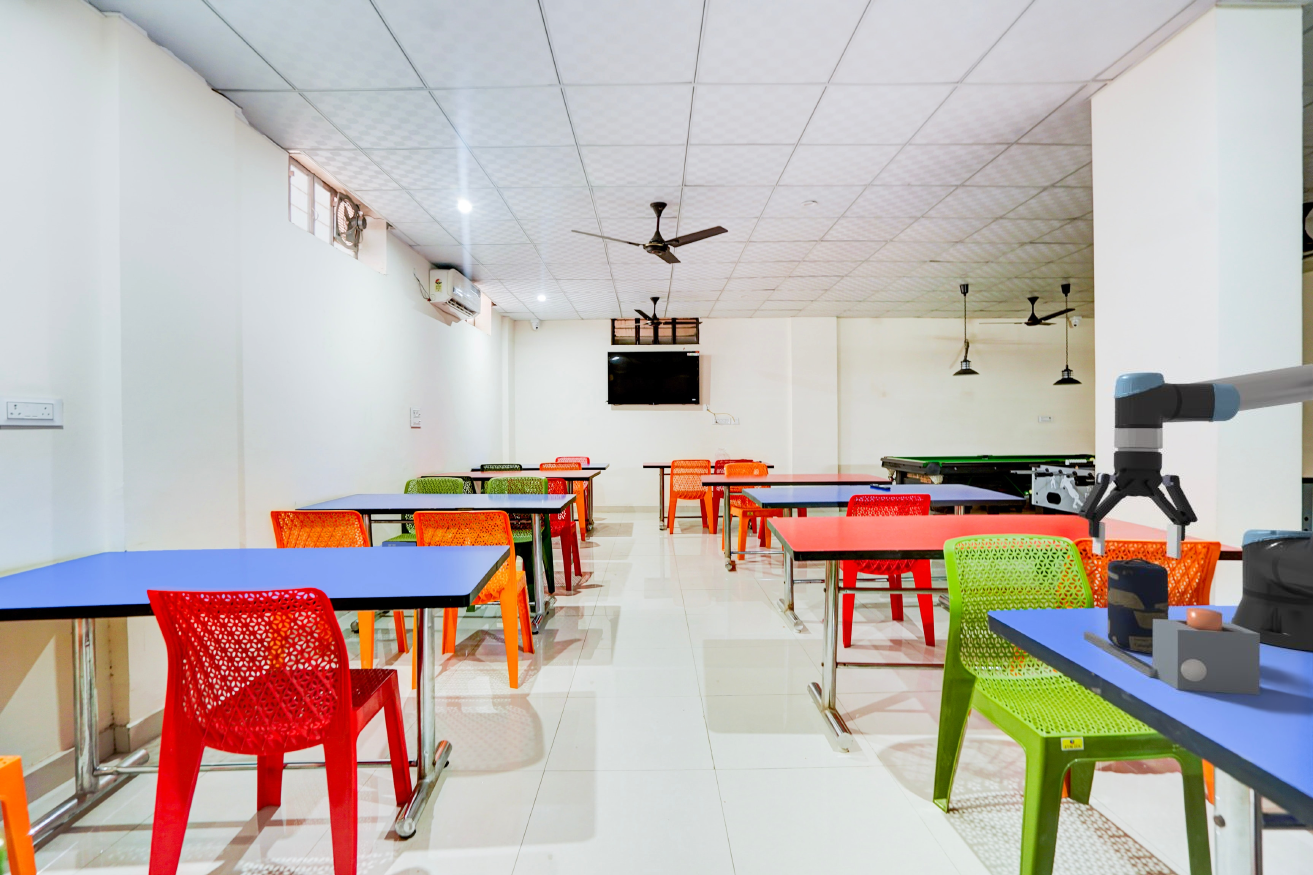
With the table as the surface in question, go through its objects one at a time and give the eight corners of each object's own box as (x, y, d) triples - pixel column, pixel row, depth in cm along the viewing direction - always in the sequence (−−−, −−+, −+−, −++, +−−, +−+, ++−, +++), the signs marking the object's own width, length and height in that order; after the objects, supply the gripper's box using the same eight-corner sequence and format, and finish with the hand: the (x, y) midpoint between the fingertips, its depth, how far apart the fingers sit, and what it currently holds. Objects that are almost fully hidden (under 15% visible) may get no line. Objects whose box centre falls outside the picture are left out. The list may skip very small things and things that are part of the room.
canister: (1180, 658, 112) (1181, 564, 112) (1124, 654, 114) (1124, 561, 114) (1149, 641, 121) (1149, 554, 121) (1097, 638, 123) (1097, 552, 123)
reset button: (1208, 634, 101) (1208, 608, 101) (1229, 642, 97) (1229, 615, 97) (1180, 632, 102) (1180, 607, 102) (1199, 641, 98) (1199, 614, 98)
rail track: (1165, 642, 120) (1165, 635, 120) (1247, 682, 100) (1248, 674, 100) (1084, 638, 122) (1084, 631, 122) (1149, 677, 103) (1149, 668, 103)
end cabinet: (1229, 679, 102) (1229, 622, 102) (1261, 695, 95) (1261, 634, 95) (1152, 675, 103) (1152, 618, 103) (1179, 690, 97) (1179, 630, 97)
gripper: (1193, 451, 119) (1191, 554, 119) (1060, 448, 123) (1058, 549, 123) (1223, 451, 112) (1221, 562, 112) (1080, 449, 116) (1078, 556, 116)
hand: (1135, 555), depth 117 cm, fingers open, 13 cm apart
